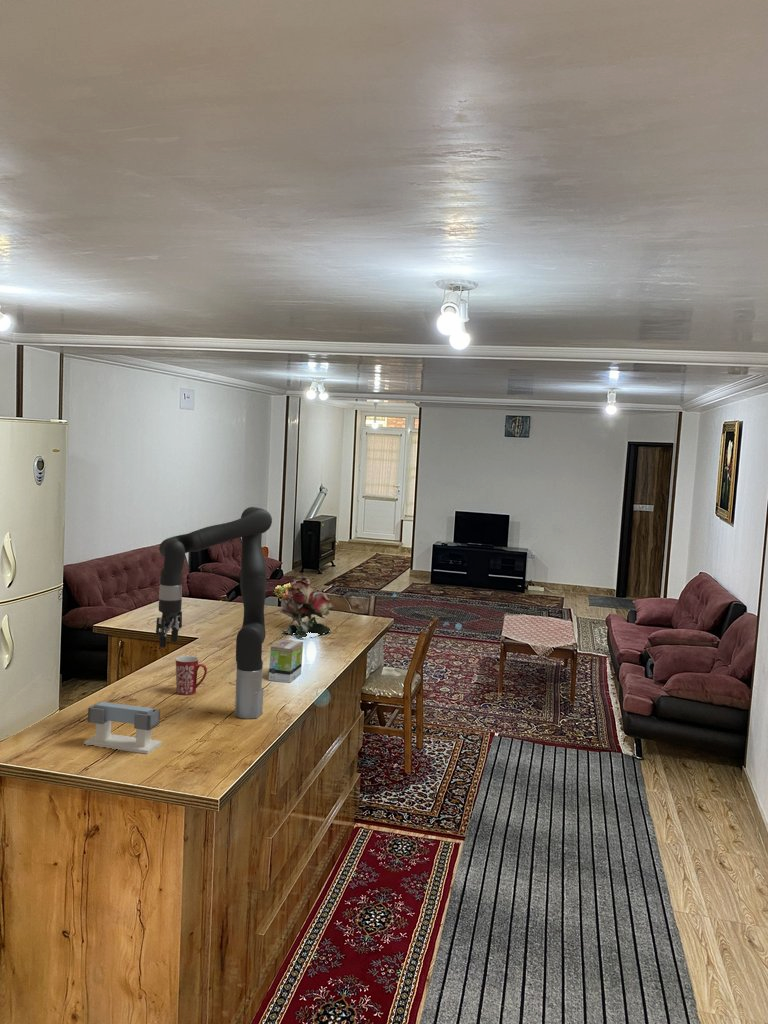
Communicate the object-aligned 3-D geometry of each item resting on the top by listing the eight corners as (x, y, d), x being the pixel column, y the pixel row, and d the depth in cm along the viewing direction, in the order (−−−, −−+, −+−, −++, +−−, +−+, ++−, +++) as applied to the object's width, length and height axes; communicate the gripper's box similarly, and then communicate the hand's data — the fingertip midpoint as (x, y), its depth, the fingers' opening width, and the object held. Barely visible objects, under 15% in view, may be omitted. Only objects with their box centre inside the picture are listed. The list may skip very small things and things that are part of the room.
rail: (152, 722, 254) (153, 708, 254) (147, 725, 251) (147, 711, 250) (101, 715, 258) (101, 701, 257) (95, 718, 254) (95, 704, 254)
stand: (161, 744, 257) (162, 708, 256) (147, 753, 248) (149, 717, 247) (99, 735, 261) (100, 700, 260) (83, 744, 252) (84, 709, 252)
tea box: (290, 683, 332) (292, 648, 331) (267, 680, 334) (269, 646, 333) (301, 674, 346) (303, 640, 345) (279, 671, 348) (281, 638, 347)
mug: (169, 694, 308) (171, 660, 307) (180, 688, 317) (181, 654, 316) (200, 698, 305) (201, 663, 304) (210, 691, 314) (211, 658, 313)
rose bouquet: (337, 631, 432) (340, 576, 430) (304, 640, 407) (307, 582, 405) (299, 624, 446) (302, 571, 443) (265, 632, 421) (268, 576, 419)
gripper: (170, 602, 264) (169, 650, 265) (189, 595, 277) (188, 641, 279) (149, 600, 265) (148, 648, 266) (169, 593, 279) (168, 638, 280)
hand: (168, 644), depth 272 cm, fingers open, 8 cm apart
